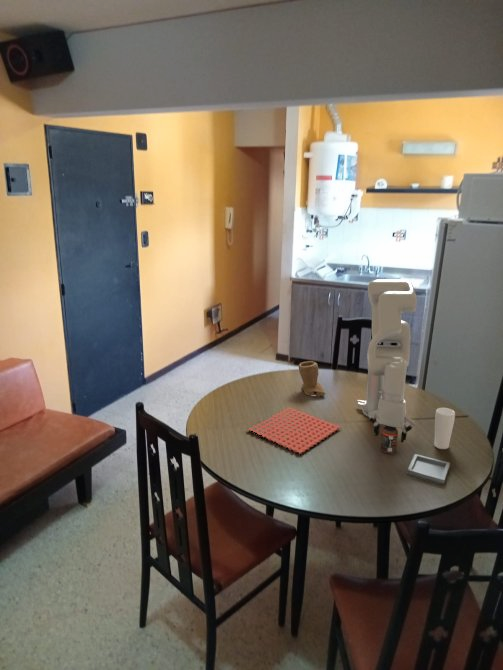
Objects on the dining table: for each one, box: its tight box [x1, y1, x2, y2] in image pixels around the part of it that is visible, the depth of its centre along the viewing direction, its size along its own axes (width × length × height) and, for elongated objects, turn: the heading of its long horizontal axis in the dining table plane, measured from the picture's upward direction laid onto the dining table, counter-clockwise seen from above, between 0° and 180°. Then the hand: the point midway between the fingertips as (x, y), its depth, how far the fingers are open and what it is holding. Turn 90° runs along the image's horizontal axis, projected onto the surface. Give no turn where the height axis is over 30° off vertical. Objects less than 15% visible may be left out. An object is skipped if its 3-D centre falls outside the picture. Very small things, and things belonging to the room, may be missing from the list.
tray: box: [406, 453, 451, 486], centre depth 163 cm, size 12×12×2 cm
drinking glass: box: [433, 407, 456, 450], centre depth 177 cm, size 7×7×15 cm
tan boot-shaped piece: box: [298, 360, 326, 397], centre depth 228 cm, size 15×12×15 cm
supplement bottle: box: [379, 425, 399, 455], centre depth 175 cm, size 6×6×11 cm
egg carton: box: [247, 407, 342, 455], centre depth 192 cm, size 28×28×2 cm
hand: (389, 437), depth 175 cm, fingers open, 9 cm apart
